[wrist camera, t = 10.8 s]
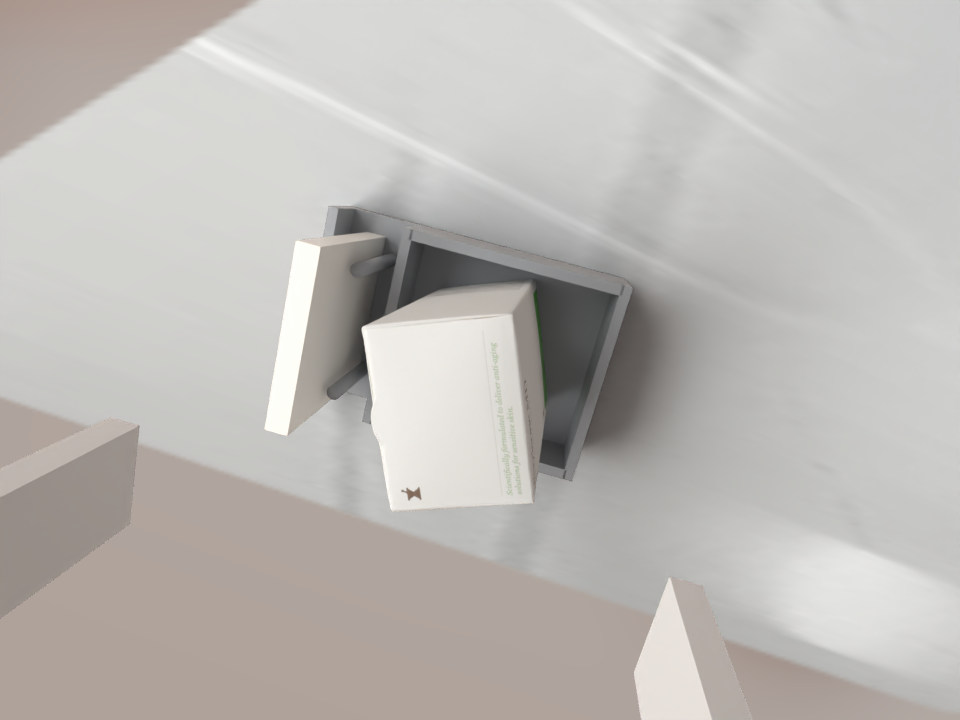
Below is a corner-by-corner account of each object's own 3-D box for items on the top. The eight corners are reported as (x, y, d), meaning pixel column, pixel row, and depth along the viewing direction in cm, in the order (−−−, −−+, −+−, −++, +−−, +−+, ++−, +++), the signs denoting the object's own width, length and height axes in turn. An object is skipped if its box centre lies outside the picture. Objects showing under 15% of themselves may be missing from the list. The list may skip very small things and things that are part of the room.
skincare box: (548, 400, 40) (542, 515, 25) (449, 407, 41) (385, 522, 26) (536, 271, 38) (521, 311, 23) (432, 282, 39) (353, 328, 24)
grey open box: (623, 278, 39) (651, 307, 27) (570, 450, 42) (574, 542, 30) (350, 206, 40) (264, 204, 28) (318, 378, 43) (229, 441, 31)
